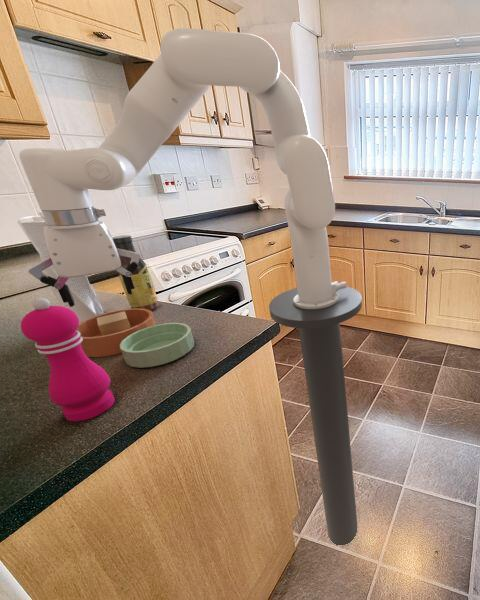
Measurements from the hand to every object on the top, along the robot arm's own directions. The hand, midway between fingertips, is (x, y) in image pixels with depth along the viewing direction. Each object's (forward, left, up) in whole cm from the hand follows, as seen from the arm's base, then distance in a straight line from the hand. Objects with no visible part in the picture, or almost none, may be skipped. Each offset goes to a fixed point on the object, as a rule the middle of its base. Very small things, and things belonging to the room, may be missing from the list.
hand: (102, 298), depth 72 cm
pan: (0, 0, -10) cm, 10 cm away
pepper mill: (+6, +25, -11) cm, 28 cm away
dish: (-6, +13, -10) cm, 18 cm away
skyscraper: (+5, -16, -11) cm, 20 cm away
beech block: (0, 0, -10) cm, 10 cm away
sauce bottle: (-7, -16, -11) cm, 20 cm away
